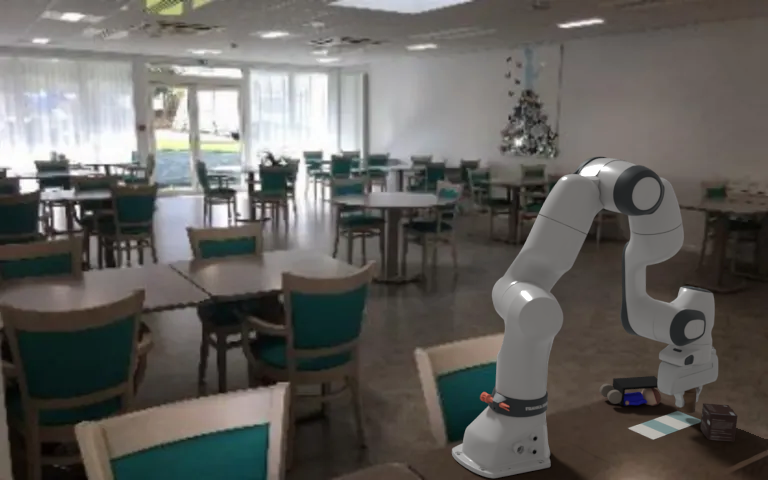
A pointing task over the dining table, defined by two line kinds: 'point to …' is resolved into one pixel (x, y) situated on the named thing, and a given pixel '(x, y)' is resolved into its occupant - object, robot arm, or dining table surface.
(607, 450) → the dining table surface
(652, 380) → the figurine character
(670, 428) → the board
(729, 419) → the box
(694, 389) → the brown rounded cylinder
